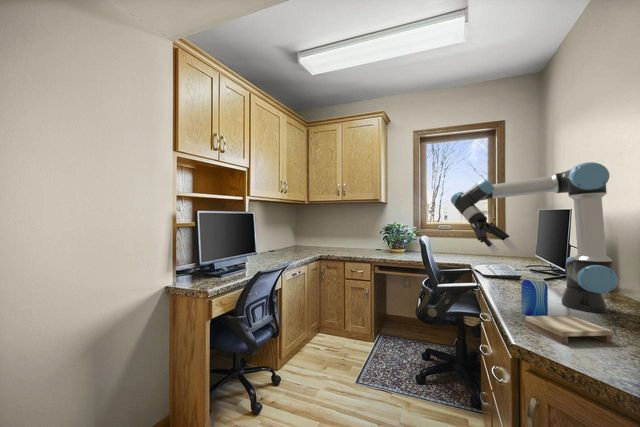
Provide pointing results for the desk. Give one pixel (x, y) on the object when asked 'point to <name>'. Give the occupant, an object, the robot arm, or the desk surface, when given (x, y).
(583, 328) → the shelf stand
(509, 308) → the desk surface
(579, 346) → the desk surface
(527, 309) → the beer can
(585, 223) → the robot arm
